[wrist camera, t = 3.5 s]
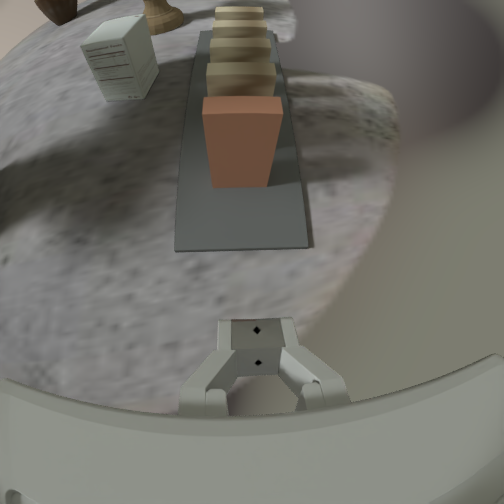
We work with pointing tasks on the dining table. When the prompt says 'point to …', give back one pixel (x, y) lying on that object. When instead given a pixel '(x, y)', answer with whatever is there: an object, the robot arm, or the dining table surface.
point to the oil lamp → (162, 16)
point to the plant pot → (58, 10)
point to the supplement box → (122, 58)
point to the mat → (243, 198)
